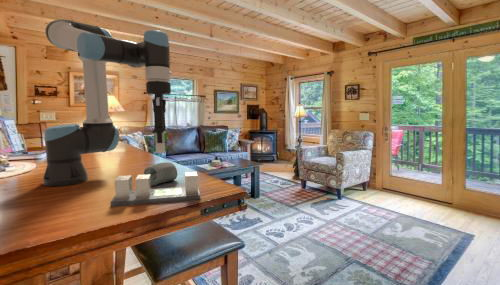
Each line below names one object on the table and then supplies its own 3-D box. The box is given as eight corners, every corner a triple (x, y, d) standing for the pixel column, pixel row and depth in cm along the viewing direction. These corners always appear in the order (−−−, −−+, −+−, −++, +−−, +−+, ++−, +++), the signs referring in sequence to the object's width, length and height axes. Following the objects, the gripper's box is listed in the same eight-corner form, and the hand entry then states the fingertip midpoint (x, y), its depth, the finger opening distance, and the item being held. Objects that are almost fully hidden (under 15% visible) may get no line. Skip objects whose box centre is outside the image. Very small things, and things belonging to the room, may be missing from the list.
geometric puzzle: (174, 146, 85) (170, 126, 89) (152, 147, 82) (149, 126, 86) (171, 156, 91) (168, 137, 94) (150, 158, 88) (148, 138, 91)
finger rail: (118, 195, 92) (117, 174, 91) (197, 189, 99) (197, 170, 98) (110, 206, 81) (109, 182, 80) (200, 199, 88) (199, 177, 87)
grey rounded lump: (152, 181, 98) (150, 156, 102) (139, 188, 103) (138, 164, 107) (183, 182, 108) (181, 160, 112) (170, 189, 113) (168, 167, 117)
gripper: (169, 78, 77) (172, 155, 80) (171, 85, 97) (173, 146, 100) (141, 77, 75) (145, 156, 78) (149, 84, 95) (152, 147, 98)
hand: (161, 151), depth 89 cm, fingers closed on geometric puzzle, 8 cm apart
